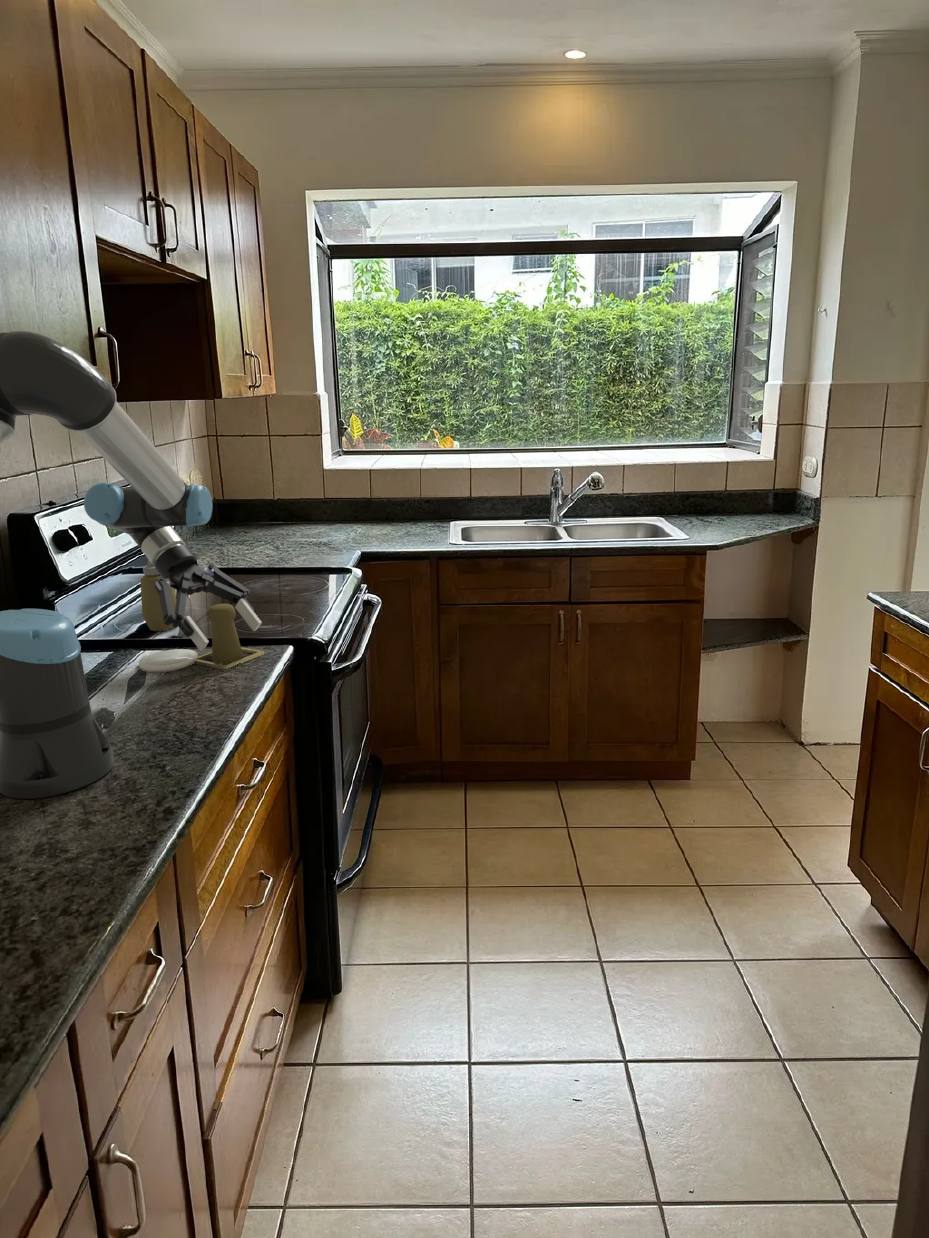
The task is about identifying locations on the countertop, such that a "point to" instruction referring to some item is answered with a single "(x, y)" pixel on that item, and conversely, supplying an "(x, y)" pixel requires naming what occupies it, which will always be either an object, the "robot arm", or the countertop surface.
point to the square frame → (255, 654)
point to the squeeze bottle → (153, 599)
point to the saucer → (168, 660)
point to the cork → (224, 634)
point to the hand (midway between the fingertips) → (232, 636)
